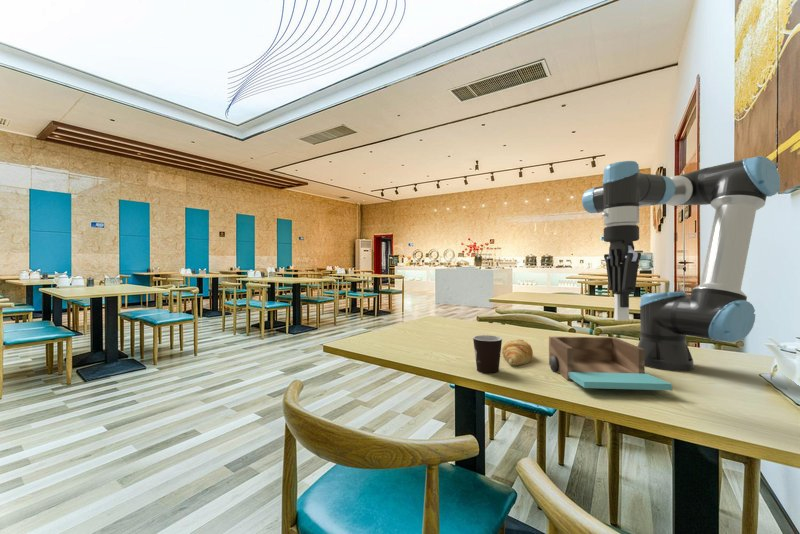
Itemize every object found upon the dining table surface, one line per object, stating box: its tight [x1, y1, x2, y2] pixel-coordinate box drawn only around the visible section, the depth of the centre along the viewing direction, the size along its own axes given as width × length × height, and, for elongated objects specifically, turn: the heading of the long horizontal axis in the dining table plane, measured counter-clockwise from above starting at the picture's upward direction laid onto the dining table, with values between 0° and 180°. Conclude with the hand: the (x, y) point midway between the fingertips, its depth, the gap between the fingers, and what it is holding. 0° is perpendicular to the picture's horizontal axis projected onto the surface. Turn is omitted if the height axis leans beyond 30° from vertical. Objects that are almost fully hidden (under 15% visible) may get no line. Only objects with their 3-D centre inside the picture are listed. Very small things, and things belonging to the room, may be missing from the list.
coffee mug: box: [472, 334, 503, 375], centre depth 107 cm, size 12×9×10 cm
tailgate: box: [568, 372, 673, 391], centre depth 90 cm, size 20×2×11 cm
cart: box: [548, 336, 646, 382], centre depth 103 cm, size 23×16×9 cm
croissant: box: [501, 339, 534, 366], centre depth 119 cm, size 21×10×8 cm, turn 154°
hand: (621, 320), depth 87 cm, fingers closed
